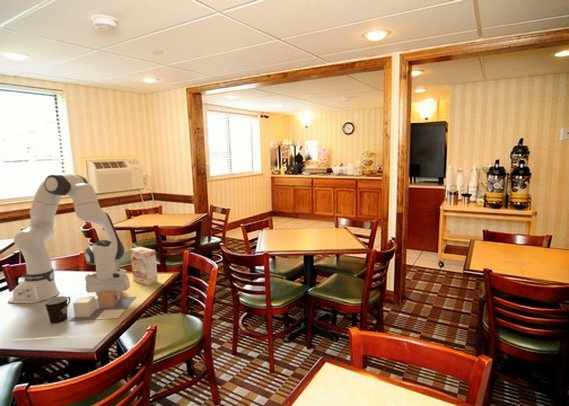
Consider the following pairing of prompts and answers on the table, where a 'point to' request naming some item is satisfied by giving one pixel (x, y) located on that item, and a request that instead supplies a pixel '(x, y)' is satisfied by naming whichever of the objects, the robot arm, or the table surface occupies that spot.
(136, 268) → the coffeecake box
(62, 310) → the coffee mug
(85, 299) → the pale beige cube
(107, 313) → the mat
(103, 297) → the salmon rectangular box
